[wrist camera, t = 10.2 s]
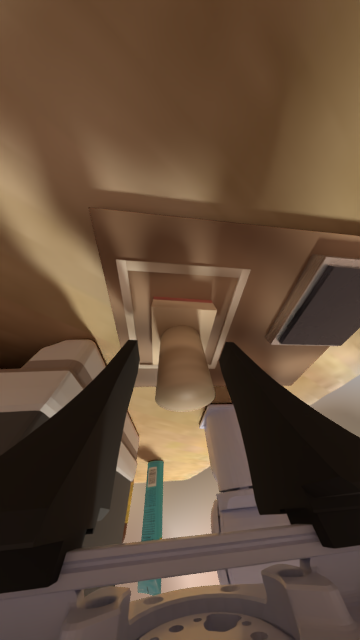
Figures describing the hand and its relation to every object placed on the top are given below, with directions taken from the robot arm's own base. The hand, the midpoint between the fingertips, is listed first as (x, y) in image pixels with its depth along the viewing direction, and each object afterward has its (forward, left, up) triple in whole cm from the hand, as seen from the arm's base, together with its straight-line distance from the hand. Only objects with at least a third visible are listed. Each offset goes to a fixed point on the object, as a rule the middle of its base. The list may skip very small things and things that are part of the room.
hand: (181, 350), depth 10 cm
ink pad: (+3, -12, -3) cm, 13 cm away
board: (-1, -6, -3) cm, 7 cm away
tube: (-55, +3, -4) cm, 55 cm away
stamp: (0, 0, -3) cm, 3 cm away
